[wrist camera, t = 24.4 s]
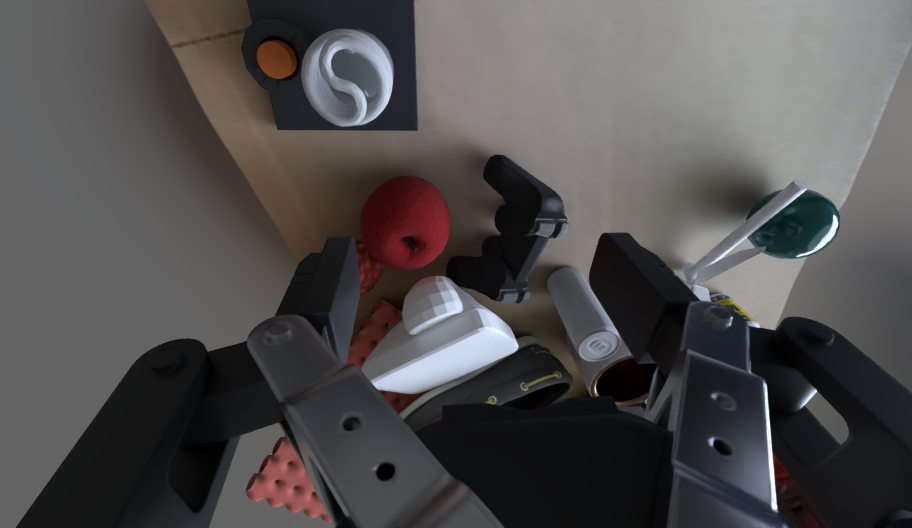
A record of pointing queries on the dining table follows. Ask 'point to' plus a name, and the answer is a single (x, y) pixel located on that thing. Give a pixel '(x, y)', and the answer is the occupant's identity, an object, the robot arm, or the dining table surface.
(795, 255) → the sphere
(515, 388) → the boat shoe
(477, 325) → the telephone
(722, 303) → the supplement bottle
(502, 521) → the robot arm
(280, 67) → the button
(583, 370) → the planter
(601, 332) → the beverage can
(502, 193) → the game controller
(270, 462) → the egg carton
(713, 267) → the wind turbine
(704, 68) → the dining table surface
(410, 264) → the apple
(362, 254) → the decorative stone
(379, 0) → the push button pad
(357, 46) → the light bulb
